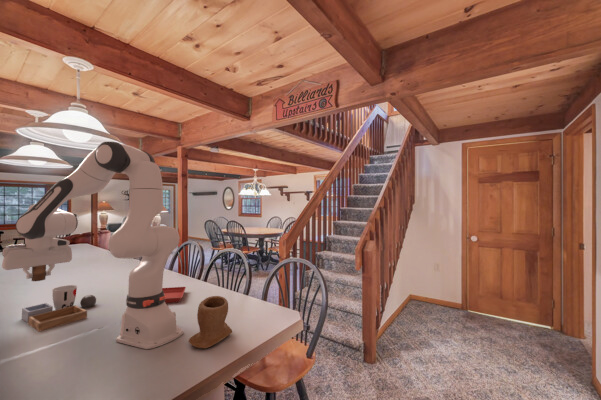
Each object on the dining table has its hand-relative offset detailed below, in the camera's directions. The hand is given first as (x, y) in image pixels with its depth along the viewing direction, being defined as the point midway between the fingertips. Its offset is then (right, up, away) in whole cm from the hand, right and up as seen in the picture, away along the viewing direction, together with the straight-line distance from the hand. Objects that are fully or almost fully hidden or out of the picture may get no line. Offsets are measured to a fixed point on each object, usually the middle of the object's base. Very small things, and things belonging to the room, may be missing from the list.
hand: (38, 276), depth 107 cm
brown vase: (+76, -18, -15) cm, 80 cm away
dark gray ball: (+10, -18, +13) cm, 24 cm away
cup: (+2, -18, +9) cm, 20 cm away
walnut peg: (0, -1, 0) cm, 1 cm away
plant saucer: (+38, -19, +26) cm, 50 cm away
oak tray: (+11, -17, -3) cm, 21 cm away
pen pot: (0, -17, -1) cm, 17 cm away
